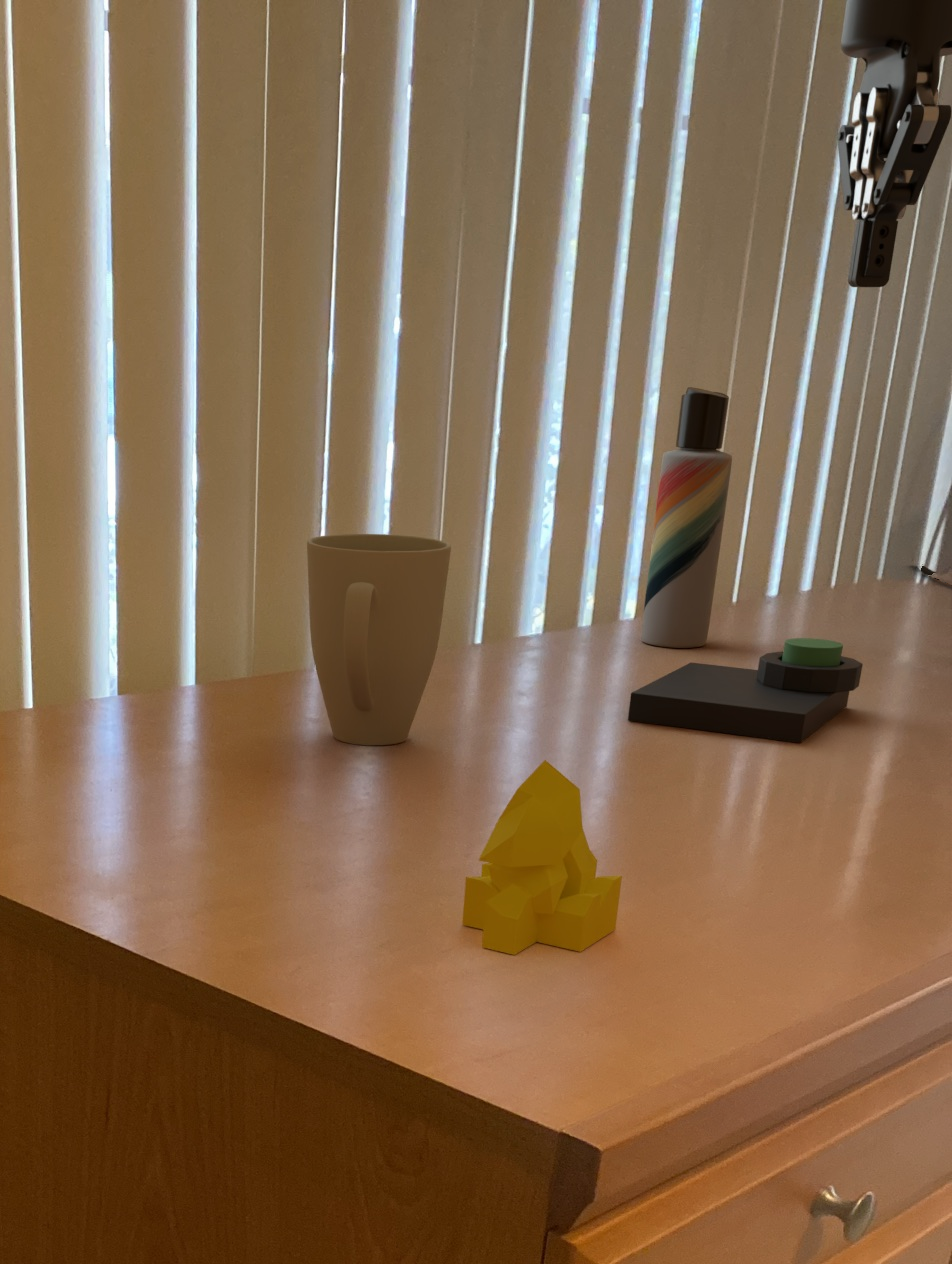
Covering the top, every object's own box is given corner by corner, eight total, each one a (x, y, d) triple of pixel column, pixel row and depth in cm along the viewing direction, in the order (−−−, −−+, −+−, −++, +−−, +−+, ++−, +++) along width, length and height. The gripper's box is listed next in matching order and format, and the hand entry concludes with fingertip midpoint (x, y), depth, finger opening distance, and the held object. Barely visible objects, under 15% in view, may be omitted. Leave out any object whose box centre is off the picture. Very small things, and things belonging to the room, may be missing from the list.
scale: (688, 686, 125) (695, 639, 123) (861, 707, 119) (870, 658, 118) (627, 720, 113) (633, 668, 112) (814, 745, 108) (824, 691, 106)
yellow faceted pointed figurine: (634, 917, 75) (655, 748, 72) (559, 965, 70) (578, 784, 66) (520, 893, 78) (535, 729, 75) (439, 937, 72) (451, 762, 69)
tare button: (789, 658, 119) (792, 636, 118) (844, 664, 117) (848, 642, 116) (775, 666, 116) (778, 643, 115) (832, 672, 114) (836, 650, 113)
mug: (265, 729, 108) (268, 536, 103) (393, 717, 112) (403, 531, 107) (345, 767, 100) (354, 558, 94) (481, 752, 104) (497, 552, 98)
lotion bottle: (653, 635, 145) (684, 385, 136) (715, 642, 143) (751, 388, 133) (630, 643, 141) (661, 387, 132) (694, 651, 139) (730, 389, 129)
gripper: (1028, -64, 92) (966, 285, 100) (933, -21, 104) (885, 289, 112) (898, -67, 92) (846, 284, 100) (818, -23, 103) (777, 288, 112)
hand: (867, 286), depth 106 cm, fingers closed
